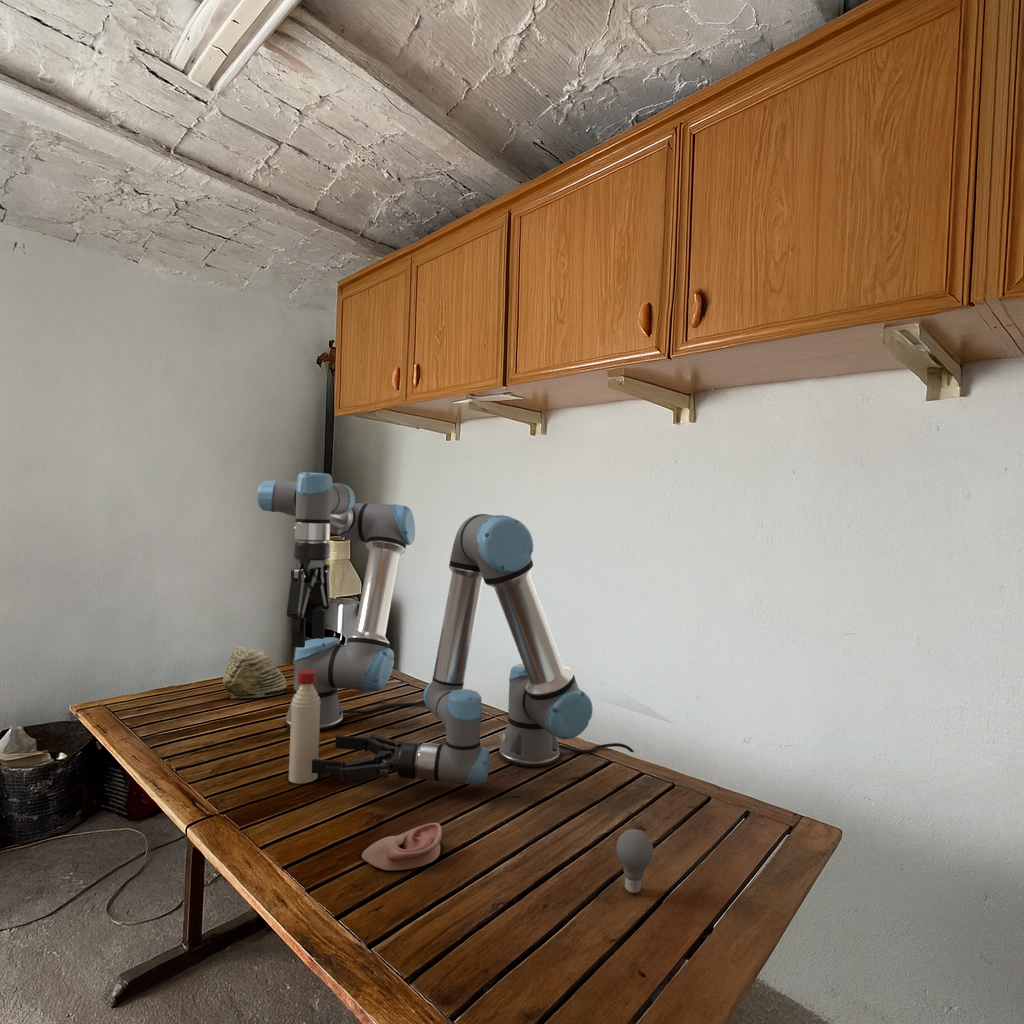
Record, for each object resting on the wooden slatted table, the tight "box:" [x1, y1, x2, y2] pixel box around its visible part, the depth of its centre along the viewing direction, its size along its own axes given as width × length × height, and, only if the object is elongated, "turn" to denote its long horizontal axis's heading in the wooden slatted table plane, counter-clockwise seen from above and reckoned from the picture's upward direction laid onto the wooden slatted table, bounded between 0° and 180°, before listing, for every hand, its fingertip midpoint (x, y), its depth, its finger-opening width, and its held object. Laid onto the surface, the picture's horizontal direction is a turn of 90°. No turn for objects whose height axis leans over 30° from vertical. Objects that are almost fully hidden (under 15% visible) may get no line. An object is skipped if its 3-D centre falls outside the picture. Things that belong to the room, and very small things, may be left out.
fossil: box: [222, 646, 288, 699], centre depth 198 cm, size 9×18×15 cm, turn 132°
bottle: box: [288, 684, 321, 785], centre depth 142 cm, size 6×6×24 cm
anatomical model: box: [361, 822, 443, 872], centre depth 114 cm, size 13×4×12 cm
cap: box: [298, 669, 316, 684], centre depth 142 cm, size 4×4×2 cm
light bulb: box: [615, 828, 654, 894], centre depth 106 cm, size 6×6×10 cm
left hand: (308, 642), depth 142 cm, fingers open, 8 cm apart
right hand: (324, 753), depth 141 cm, fingers open, 13 cm apart
